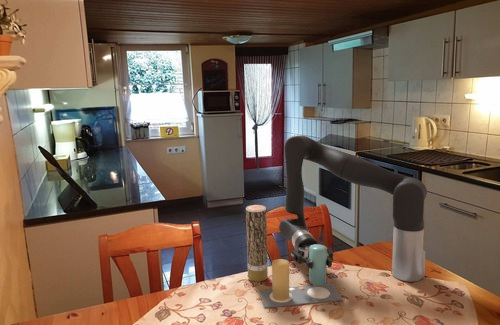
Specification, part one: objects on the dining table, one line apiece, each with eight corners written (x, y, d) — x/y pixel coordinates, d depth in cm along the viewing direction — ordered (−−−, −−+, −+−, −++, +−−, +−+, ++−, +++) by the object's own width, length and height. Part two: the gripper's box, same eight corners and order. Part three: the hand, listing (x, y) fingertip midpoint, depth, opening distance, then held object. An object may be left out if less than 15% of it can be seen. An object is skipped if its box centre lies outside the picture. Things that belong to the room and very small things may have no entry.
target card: (331, 284, 119) (331, 283, 119) (343, 300, 109) (343, 298, 109) (259, 291, 116) (259, 289, 116) (264, 308, 106) (264, 306, 106)
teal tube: (322, 276, 115) (323, 243, 114) (328, 284, 110) (329, 250, 109) (307, 277, 115) (307, 244, 113) (312, 285, 110) (312, 251, 108)
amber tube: (287, 291, 114) (286, 258, 113) (291, 299, 109) (290, 265, 107) (271, 292, 114) (270, 259, 112) (274, 301, 109) (273, 267, 107)
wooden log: (268, 273, 128) (266, 204, 124) (267, 282, 121) (265, 210, 117) (249, 273, 128) (247, 204, 124) (246, 282, 122) (244, 210, 118)
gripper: (284, 234, 124) (297, 255, 107) (324, 232, 126) (343, 251, 109) (284, 255, 125) (297, 278, 109) (324, 252, 127) (343, 275, 110)
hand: (320, 265), depth 109 cm, fingers closed on teal tube, 5 cm apart
